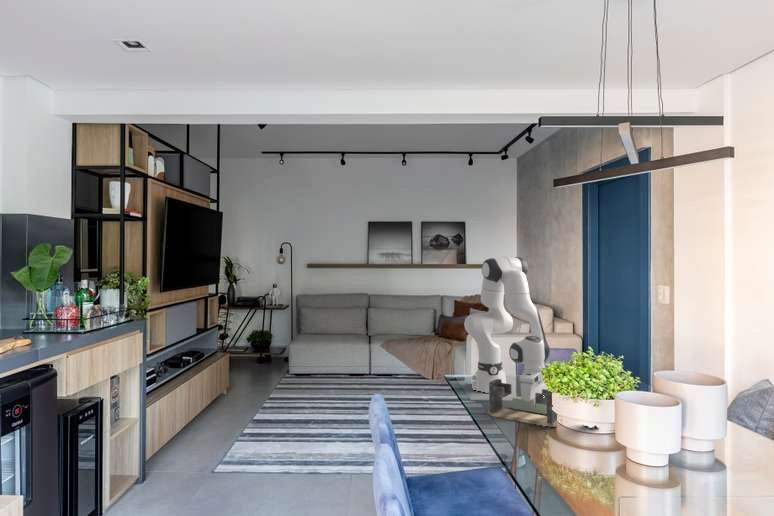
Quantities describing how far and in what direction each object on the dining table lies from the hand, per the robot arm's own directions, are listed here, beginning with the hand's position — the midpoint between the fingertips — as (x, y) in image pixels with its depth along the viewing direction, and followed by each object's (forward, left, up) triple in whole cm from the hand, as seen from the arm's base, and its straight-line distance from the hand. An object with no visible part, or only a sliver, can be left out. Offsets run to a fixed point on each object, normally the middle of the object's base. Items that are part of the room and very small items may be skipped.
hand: (535, 406), depth 215 cm
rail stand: (+9, -8, -2) cm, 12 cm away
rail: (0, 0, -2) cm, 2 cm away
